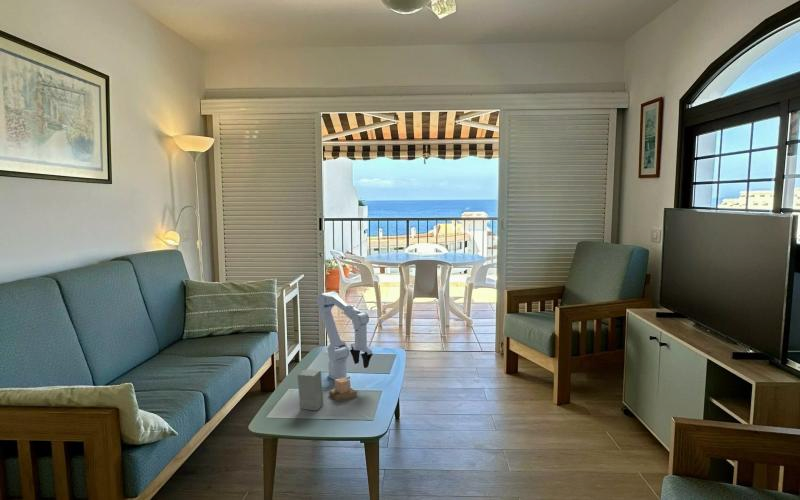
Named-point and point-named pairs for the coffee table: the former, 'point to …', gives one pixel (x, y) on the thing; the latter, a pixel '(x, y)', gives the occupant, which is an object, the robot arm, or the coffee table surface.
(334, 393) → the tan flat block
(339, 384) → the cube
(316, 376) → the skincare box
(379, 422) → the coffee table surface
